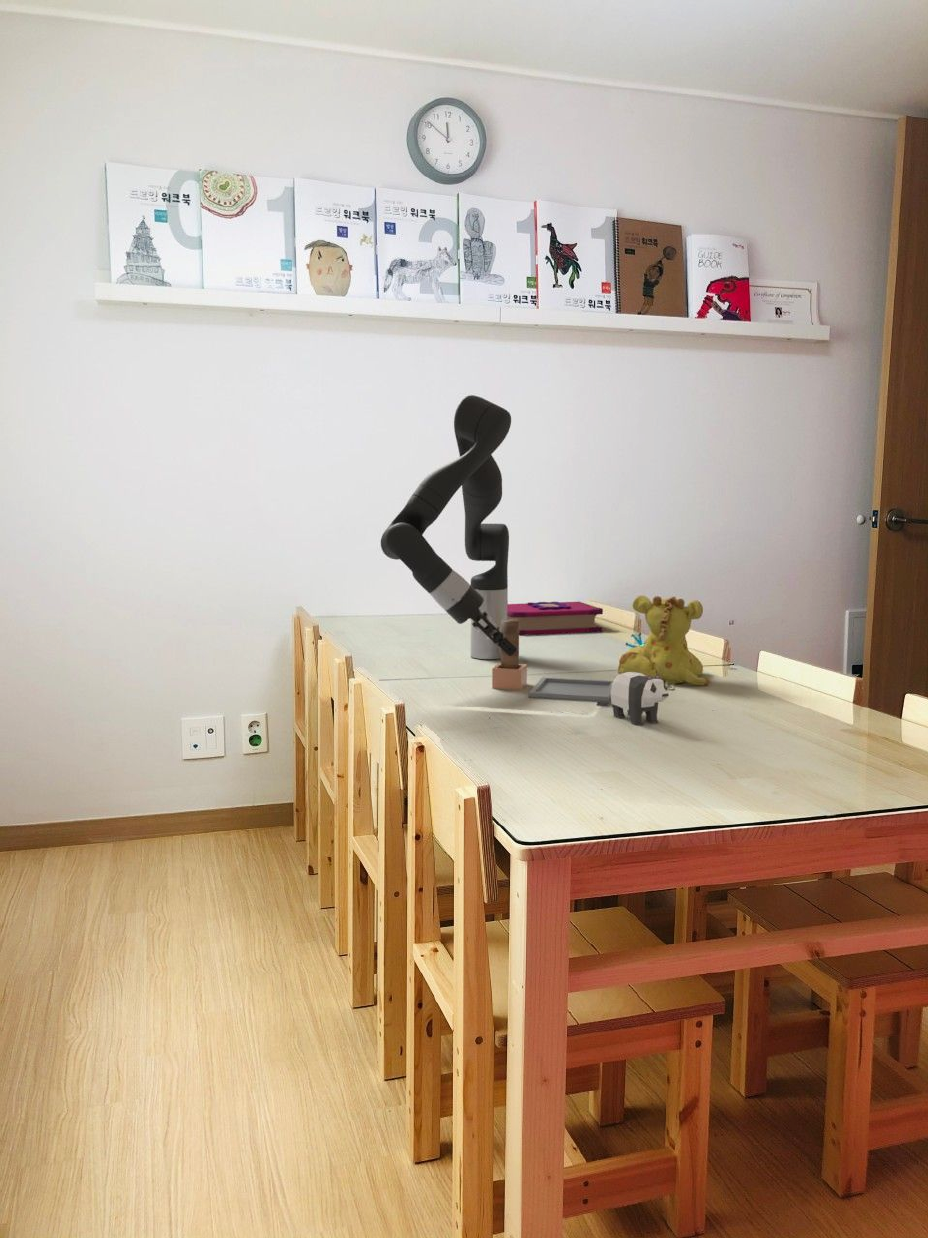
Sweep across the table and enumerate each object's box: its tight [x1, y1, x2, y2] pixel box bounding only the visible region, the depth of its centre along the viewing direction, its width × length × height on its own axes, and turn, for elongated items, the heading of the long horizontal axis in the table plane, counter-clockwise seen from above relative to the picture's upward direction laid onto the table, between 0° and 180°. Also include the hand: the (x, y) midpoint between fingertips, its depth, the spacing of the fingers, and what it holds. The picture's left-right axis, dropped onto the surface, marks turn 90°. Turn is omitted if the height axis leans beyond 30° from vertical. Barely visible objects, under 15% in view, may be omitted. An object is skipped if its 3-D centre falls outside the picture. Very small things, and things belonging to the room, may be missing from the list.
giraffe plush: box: [617, 594, 711, 691], centre depth 226 cm, size 20×24×19 cm
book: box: [508, 601, 604, 637], centre depth 300 cm, size 21×28×8 cm
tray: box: [528, 676, 614, 707], centre depth 211 cm, size 16×16×2 cm
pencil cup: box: [491, 662, 528, 691], centre depth 216 cm, size 6×6×5 cm
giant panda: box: [610, 672, 669, 726], centre depth 188 cm, size 15×6×10 cm, turn 25°
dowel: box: [500, 620, 520, 669], centre depth 215 cm, size 4×4×14 cm
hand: (510, 649), depth 214 cm, fingers open, 8 cm apart
